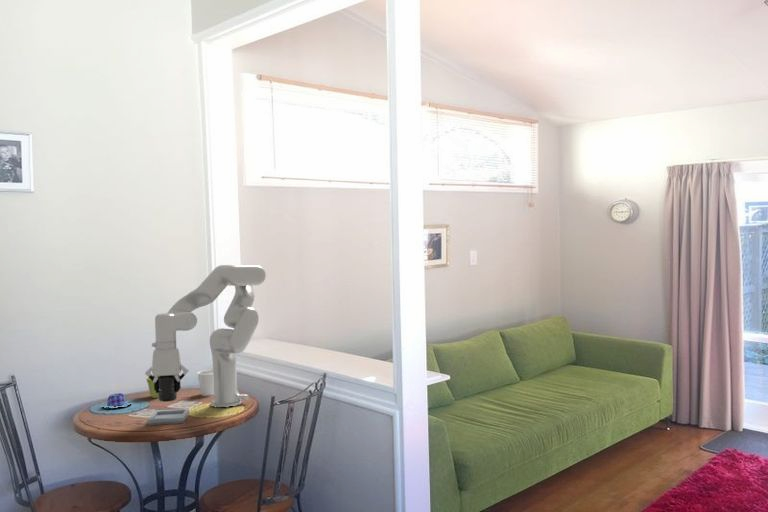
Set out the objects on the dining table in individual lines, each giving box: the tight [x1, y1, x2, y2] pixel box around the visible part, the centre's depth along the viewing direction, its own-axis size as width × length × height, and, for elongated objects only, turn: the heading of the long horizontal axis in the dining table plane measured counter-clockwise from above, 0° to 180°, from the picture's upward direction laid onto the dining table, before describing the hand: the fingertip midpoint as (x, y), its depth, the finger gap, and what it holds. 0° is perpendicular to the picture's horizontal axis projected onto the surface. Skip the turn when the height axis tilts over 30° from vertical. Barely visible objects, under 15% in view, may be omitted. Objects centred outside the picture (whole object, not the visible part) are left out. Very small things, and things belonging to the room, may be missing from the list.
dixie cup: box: [197, 369, 214, 397], centre depth 297 cm, size 8×8×10 cm
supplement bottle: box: [157, 376, 178, 403], centre depth 257 cm, size 7×7×12 cm
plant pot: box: [145, 375, 160, 399], centre depth 296 cm, size 9×9×9 cm
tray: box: [147, 408, 190, 426], centre depth 258 cm, size 13×13×2 cm
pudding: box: [106, 392, 127, 407], centre depth 280 cm, size 12×12×5 cm
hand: (167, 391), depth 257 cm, fingers closed on supplement bottle, 6 cm apart
